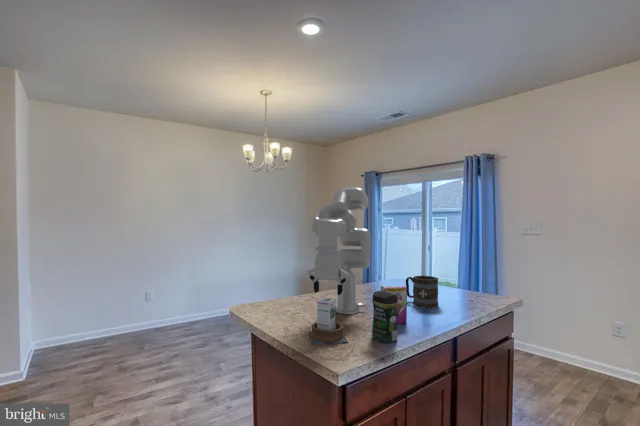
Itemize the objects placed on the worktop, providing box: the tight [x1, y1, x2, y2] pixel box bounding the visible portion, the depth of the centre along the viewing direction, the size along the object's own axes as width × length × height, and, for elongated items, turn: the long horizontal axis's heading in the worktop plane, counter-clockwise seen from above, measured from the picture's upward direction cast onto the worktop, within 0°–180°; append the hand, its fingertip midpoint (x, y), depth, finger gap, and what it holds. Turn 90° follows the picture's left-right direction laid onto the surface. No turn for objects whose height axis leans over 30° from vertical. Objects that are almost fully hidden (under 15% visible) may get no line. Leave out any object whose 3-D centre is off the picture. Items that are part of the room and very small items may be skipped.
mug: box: [405, 275, 439, 309], centre depth 184 cm, size 20×14×15 cm
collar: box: [308, 321, 349, 346], centre depth 133 cm, size 14×14×4 cm
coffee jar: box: [371, 290, 398, 344], centre depth 131 cm, size 10×8×19 cm
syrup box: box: [316, 297, 337, 330], centre depth 133 cm, size 6×6×14 cm
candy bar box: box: [380, 285, 408, 325], centre depth 151 cm, size 11×5×16 cm, turn 100°
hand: (328, 293), depth 133 cm, fingers open, 9 cm apart
